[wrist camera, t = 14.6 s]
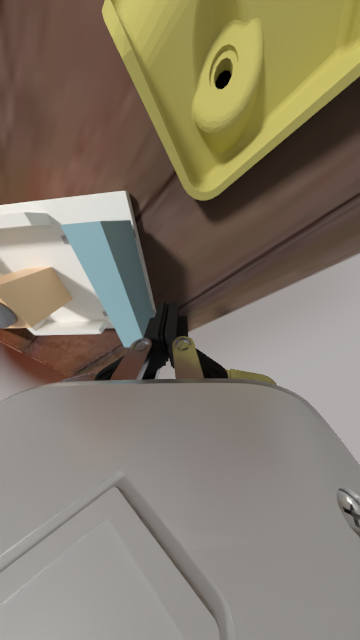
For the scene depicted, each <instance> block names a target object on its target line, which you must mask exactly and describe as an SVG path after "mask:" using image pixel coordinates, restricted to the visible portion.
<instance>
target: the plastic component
mask: <svg viewBox="0 0 360 640" xmlns="http://www.w3.org/2000/svg"><path fill="white" fill-rule="evenodd" d="M102 13H103V17H104V21H105V23H106V25H107V27H108V30H109V32H110V34H111V36H112V38H113V40H114V43H115V45H116V47H117V49H118V51H119V53H120V55H121V57H122V60H123V62H124V64H125V66H126V68H127V70H128V72H129V74H130V76H131V78H132V81H133V83H134V85H135V87H136V89H137V91H138V93H139V95H140V97H141V99H142V101H143V104H144V106H145V108H146V110H147V112H148V114H149V116H150V118H151V120H152V122H153V125H154V127H155V129H156V131H157V133H158V135H159V137H160V139H161V141H162V143H163V146H164V148H165V150H166V152H167V154H168V156H169V158H170V160H171V162H172V164H173V166H174V169H175V171H176V173H177V175H178V177H179V179H180V181H181V183H182V185H183V187H184V189H185V190H186V192H187V193H188V194H189V195H190V196H191V197H193V198H194V199H197V200H209V199H212V198H214V197H216V196H218V195H219V194H220V193H221V192H222V191H224V190H225V189H226V188H227V187H228V186H230V185H231V184H232V183H233V182H234V181H236V180H237V179H238V178H239V177H240V176H241V175H243V174H244V173H245V172H246V171H247V170H249V169H250V168H251V167H252V166H253V165H255V164H256V163H257V162H258V161H259V160H261V159H262V158H263V157H264V156H265V155H266V154H268V153H269V152H270V151H271V150H272V149H274V148H275V147H276V146H277V145H278V144H280V143H281V142H282V141H283V140H284V139H286V138H287V137H288V136H289V135H290V134H291V133H293V132H294V131H295V130H296V129H297V128H299V127H300V126H301V125H302V124H303V123H305V122H306V121H307V120H308V119H309V118H310V117H312V116H313V115H314V114H315V113H316V112H318V111H319V110H320V109H321V108H322V107H324V106H325V105H326V104H327V103H328V102H330V101H331V100H332V99H333V98H334V97H335V96H337V95H338V94H339V93H340V92H341V91H343V90H344V89H345V88H346V87H347V86H349V85H350V84H351V83H352V82H353V81H355V80H356V79H357V78H358V77H359V76H360V0H105V2H104V5H103V9H102ZM224 70H227V71H230V73H231V75H232V77H231V79H230V81H229V83H228V85H227V86H226V87H224V88H223V89H217V88H216V86H215V82H216V80H217V78H218V76H219V74H220V73H222V72H223V71H224Z"/></svg>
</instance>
